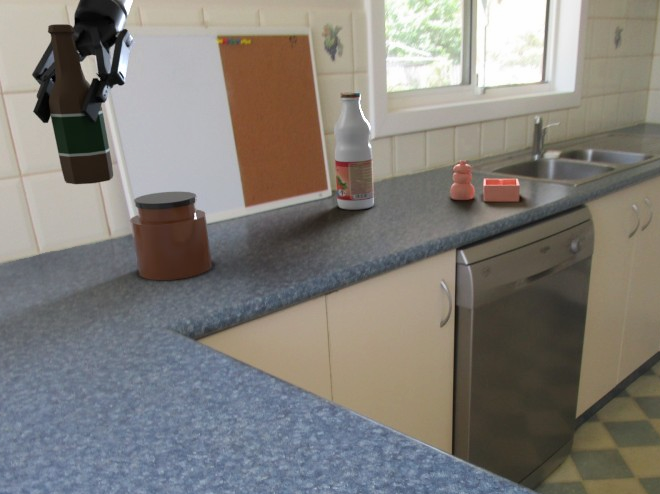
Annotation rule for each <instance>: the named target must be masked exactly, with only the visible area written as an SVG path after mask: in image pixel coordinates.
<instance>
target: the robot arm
mask: <svg viewBox="0 0 660 494" xmlns="http://www.w3.org/2000/svg"><path fill="white" fill-rule="evenodd" d="M133 2H134V0H79V1H78V3H77V7H76V9H75V11H74V15H73V17H74V18H73V21H74V23H73V26H72V27H73V29H74V31H75V32H74V34H73V36H74V40H75V44H76V48H77V52H78V56H79V60H80V63H82V62H84V60H85V59H86V58H87V57H89V56H95V59H96V67H97V72H96V76H97V77H92V79H91V83H90V88H89V91H88V94H87V96H86V99H85V102H84V105H83V108H82V110H81V111H82V112H83V113H84V115H85V116H86V117H87V118H88V119H89V121H90V122H96V119H97V116H98V113H99V110H100V107H102V104H104V103H106V101H107V100H108V97H109V94H110V91H111V89H113V88H114V86H116V85H118V86H120V87H121V86H124V85H125V83H126V78H127V72H128V67H129V66H128V65H129V59H130V53H131V50H132V48H133V46H134V45H135V43H136V42H135V40H134V38H133V36H132V35H131V33H130V31H129V30H128V29H127V28H125V26H126V24H127V23H126V22H127V19H128V17H129V13H130V11H131V8H132V4H133ZM112 47H114V48H113V53H112V54H113V55H111V48H112ZM31 76H32V77H33V78H34V80H35V81H36V82H37V83H38V84H39V87H38V91H37V93H36V99H37V101H36V103H35V106H34V108H33V111H32V112H33V113H34V114H35V115H36V117H37V118H38V119H39V120H40V121H41V122H42V124H48V123H49V121H50V119H51V115H50V107H49V98H50V92H51V89H52V87H53V85H54V83H55V81H56V70H55V62H54V55H53V47H52V40H51V39H50V42H49V44H48V45H47V47H46V49H45V51H44V53H43V54H42V56H41V58H40V60H39V61H38V63H37V64H36V66H35V68H34V70H33V72H32V74H31Z"/></svg>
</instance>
